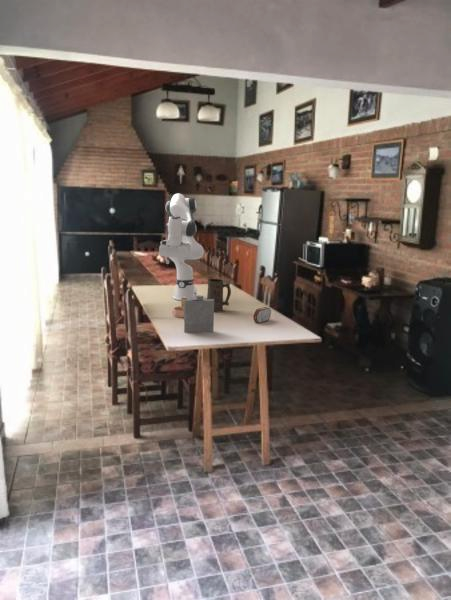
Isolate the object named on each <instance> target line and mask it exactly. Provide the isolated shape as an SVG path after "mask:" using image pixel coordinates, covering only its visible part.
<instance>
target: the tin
mask: <svg viewBox="0 0 451 600" xmlns="http://www.w3.org/2000/svg"><path fill="white" fill-rule="evenodd" d="M271 313H272V309H271V308H270V307H268V306H264V307H259V308H257V309H255V311H254V312H253V318H252V319H253V321H254V322H255V323H258V324H259V323H263V322H264V323H265V322H267V321H269V319H270V318H271Z"/></svg>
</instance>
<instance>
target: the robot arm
mask: <svg viewBox="0 0 451 600" xmlns="http://www.w3.org/2000/svg"><path fill="white" fill-rule="evenodd" d="M197 208H198V204H197V201H196V199H195V198H194V197H185V196H184V194H182V193H179V192H178V193H175V194H173V196H172V197H171V199H170V200H168V201H167V202H166V203H165V211H166V212H167V214H168V215H169V217H168V222H167V223H166V233H167V234H168V236H167V239H165V240H161V241H160V243H159V244H160V245H159V248H158V256H160V257H164V261H165V264H166V265H169V264H170V260H171V261H172V262H173V263H174V265H175V268H176V281H175V283H176V285H174V288H173V295H172V297H171V298H172V299H174V300H177V301H181V299H182V297H187V300H190V299H197V295H199V294H198V292H197V291H198V289H197V287H196V286H195V285H194V284H195V278H193V276H194V275H193V274H194V270H193V267H192V266H191V265H190V264H188V263H186V262H185V260H199V259H202V258H203V256H204V254H205V251H204V247H203V246H202V245H201V244H200V243H199V242H198V241H196V239H195V238H194V236H195V235H196V233H197V225H196V223H195V219H194V213H195V212H196V211H197ZM168 258H169V259H170V260H168Z"/></svg>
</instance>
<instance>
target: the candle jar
mask: <svg viewBox="0 0 451 600" xmlns="http://www.w3.org/2000/svg"><path fill="white" fill-rule="evenodd" d="M171 312H172V315H173V316H174V317H176V318H182V319H184V315H185V311H181V305H180V306H175V307H173V308H172V310H171Z"/></svg>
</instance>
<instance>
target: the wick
mask: <svg viewBox="0 0 451 600" xmlns="http://www.w3.org/2000/svg"><path fill="white" fill-rule="evenodd" d="M185 300H187V297H182V299H181V300H180V301H181V305H180V306H181V311H185Z"/></svg>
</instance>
